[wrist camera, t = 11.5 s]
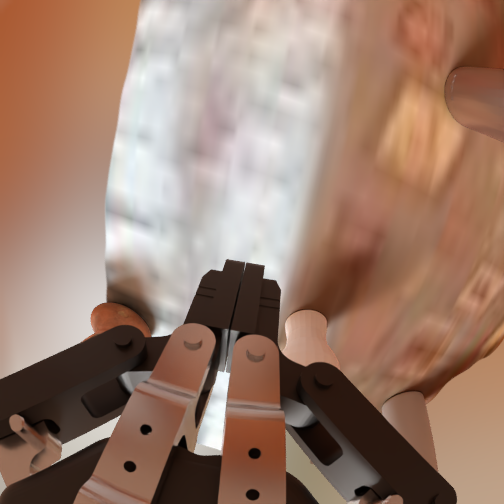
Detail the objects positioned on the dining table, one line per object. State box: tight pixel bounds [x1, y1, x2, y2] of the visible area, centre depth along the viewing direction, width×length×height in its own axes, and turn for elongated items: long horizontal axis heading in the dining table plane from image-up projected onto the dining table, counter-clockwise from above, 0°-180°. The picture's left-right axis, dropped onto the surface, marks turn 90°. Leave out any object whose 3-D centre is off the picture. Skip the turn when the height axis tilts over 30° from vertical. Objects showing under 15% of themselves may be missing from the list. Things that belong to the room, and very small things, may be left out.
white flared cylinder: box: [282, 310, 340, 370], centre depth 46 cm, size 11×11×15 cm
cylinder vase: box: [382, 391, 438, 472], centre depth 56 cm, size 12×12×25 cm
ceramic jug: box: [84, 302, 151, 341], centre depth 53 cm, size 18×14×14 cm
